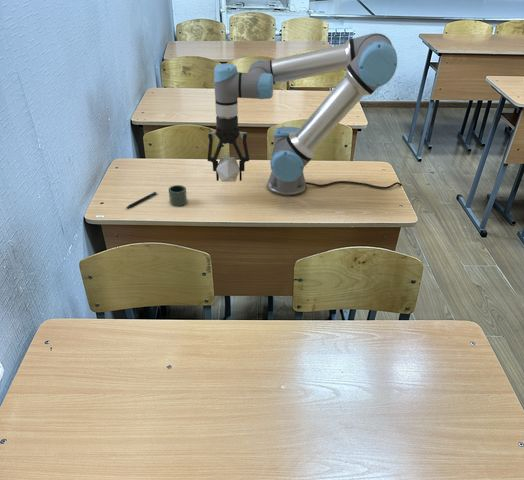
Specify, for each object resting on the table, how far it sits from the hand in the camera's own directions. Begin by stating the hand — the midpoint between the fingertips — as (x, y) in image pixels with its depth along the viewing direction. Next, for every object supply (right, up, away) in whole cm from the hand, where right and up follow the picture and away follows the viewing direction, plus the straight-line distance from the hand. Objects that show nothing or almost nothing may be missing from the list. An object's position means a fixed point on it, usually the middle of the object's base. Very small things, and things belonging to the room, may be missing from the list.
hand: (229, 179), depth 190 cm
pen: (-33, -8, +3) cm, 34 cm away
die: (0, 0, 0) cm, 1 cm away
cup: (-19, -8, +3) cm, 21 cm away
